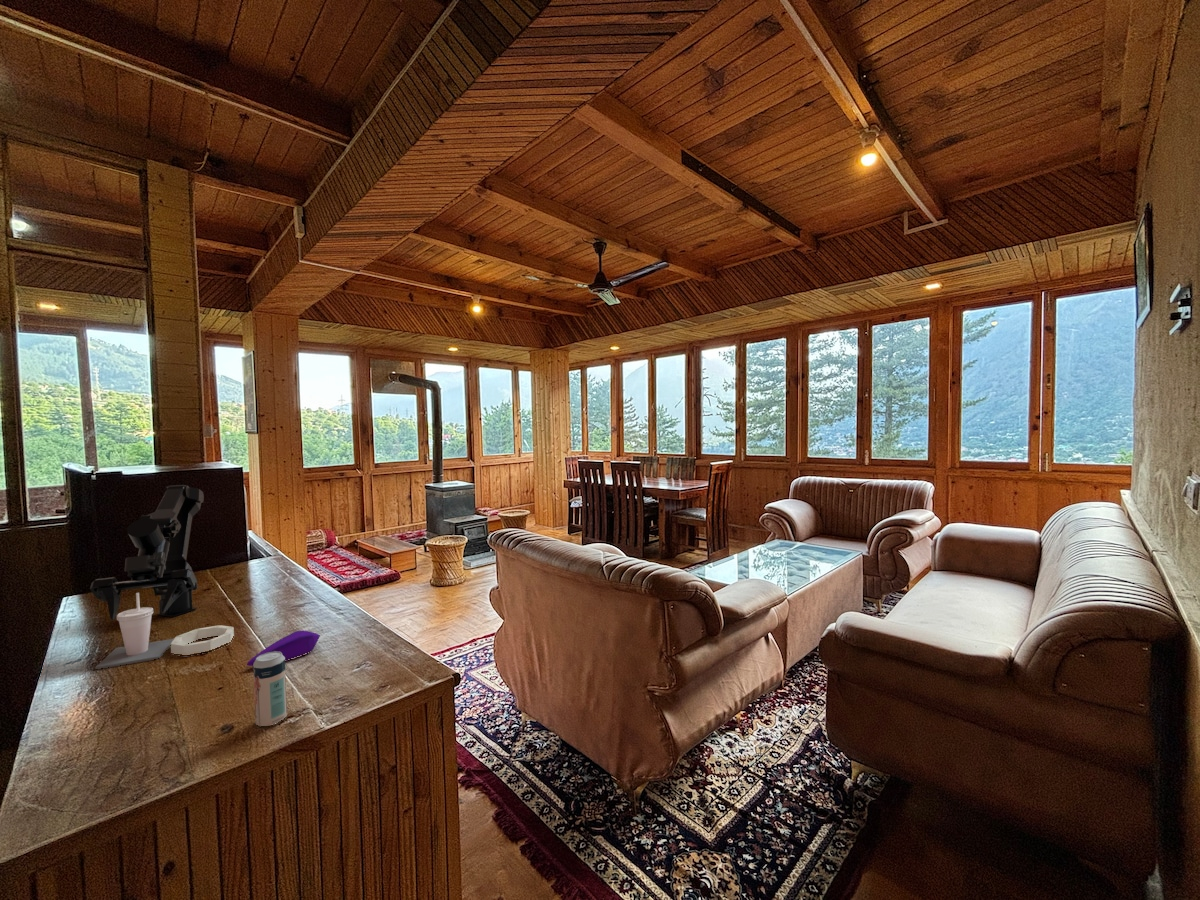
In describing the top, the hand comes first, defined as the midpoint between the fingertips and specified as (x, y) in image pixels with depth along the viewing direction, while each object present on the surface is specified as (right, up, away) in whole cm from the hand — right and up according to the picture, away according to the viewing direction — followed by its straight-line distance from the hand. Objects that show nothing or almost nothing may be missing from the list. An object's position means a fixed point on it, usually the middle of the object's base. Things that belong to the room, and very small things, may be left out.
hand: (137, 615), depth 118 cm
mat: (+1, -9, -1) cm, 9 cm away
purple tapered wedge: (+38, -9, -4) cm, 39 cm away
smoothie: (+1, -8, -1) cm, 9 cm away
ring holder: (+13, -9, +4) cm, 16 cm away
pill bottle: (+51, -10, -29) cm, 59 cm away
